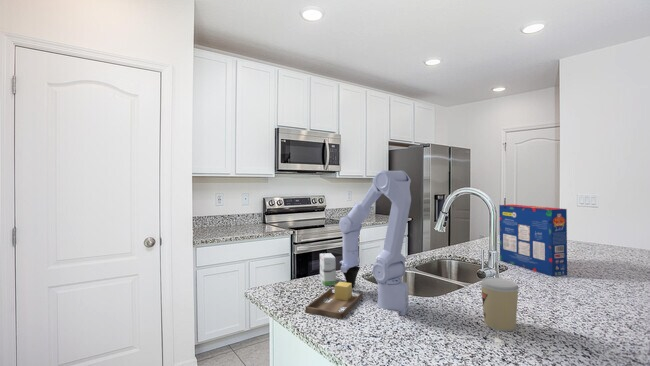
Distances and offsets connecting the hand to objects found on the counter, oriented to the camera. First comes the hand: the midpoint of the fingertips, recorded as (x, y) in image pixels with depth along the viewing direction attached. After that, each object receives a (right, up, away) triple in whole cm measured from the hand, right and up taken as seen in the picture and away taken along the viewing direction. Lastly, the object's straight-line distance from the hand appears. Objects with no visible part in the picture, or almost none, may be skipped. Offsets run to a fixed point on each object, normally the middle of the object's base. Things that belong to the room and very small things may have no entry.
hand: (350, 287), depth 116 cm
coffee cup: (+40, -2, -26) cm, 48 cm away
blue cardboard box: (+86, -1, +32) cm, 91 cm away
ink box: (-8, -3, +10) cm, 14 cm away
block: (-3, -1, -7) cm, 8 cm away
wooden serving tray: (-6, -3, -13) cm, 14 cm away
